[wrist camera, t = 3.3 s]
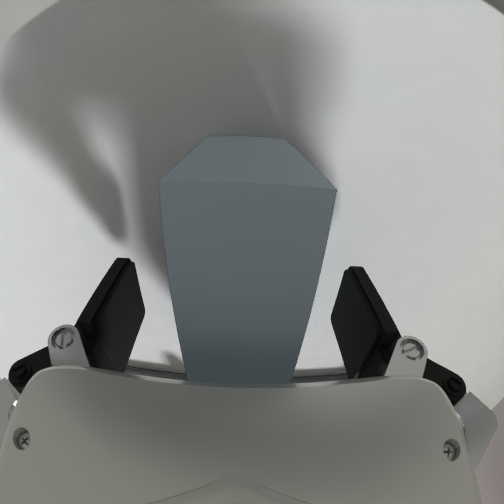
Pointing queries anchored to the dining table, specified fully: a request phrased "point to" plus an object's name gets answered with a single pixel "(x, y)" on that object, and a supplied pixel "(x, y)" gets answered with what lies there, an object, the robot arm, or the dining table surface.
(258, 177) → the blue-grey rectangular block
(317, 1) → the dining table surface
